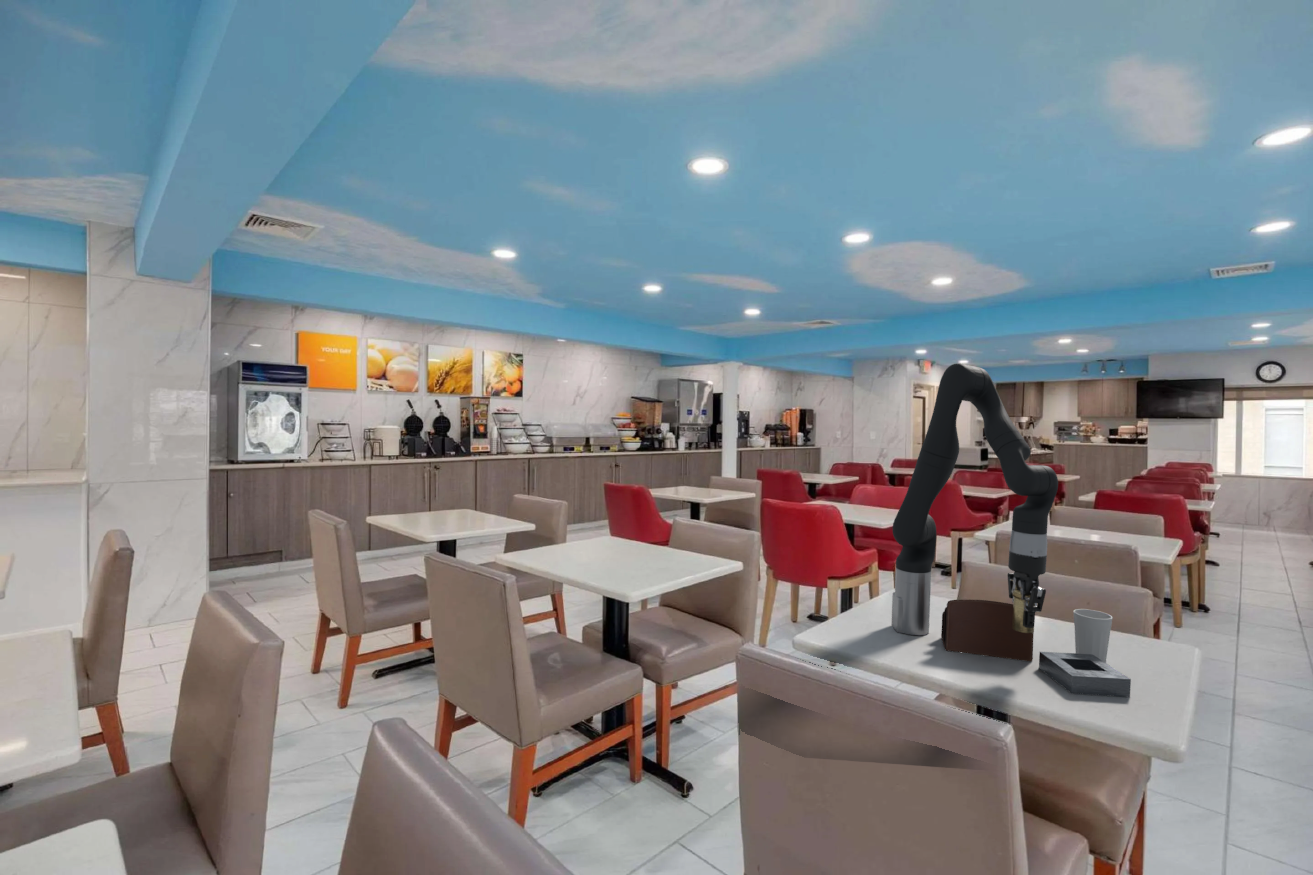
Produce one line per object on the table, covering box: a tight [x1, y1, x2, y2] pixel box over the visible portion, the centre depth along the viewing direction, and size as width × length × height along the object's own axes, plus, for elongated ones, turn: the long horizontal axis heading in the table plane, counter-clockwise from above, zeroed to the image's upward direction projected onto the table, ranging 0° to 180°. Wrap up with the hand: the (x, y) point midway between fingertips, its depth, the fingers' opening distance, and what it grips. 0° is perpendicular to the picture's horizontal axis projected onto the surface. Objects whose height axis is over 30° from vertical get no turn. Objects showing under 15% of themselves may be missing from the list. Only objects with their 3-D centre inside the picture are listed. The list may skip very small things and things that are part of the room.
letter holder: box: [940, 599, 1035, 663], centre depth 163 cm, size 10×20×14 cm, turn 71°
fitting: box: [1012, 590, 1035, 633], centre depth 147 cm, size 5×5×9 cm
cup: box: [1072, 608, 1113, 663], centre depth 156 cm, size 8×8×12 cm
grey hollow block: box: [1038, 651, 1132, 698], centre depth 144 cm, size 12×14×4 cm
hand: (1023, 623), depth 147 cm, fingers closed on fitting, 4 cm apart
